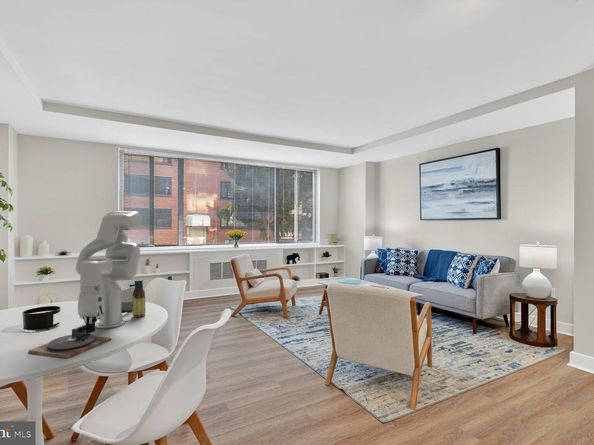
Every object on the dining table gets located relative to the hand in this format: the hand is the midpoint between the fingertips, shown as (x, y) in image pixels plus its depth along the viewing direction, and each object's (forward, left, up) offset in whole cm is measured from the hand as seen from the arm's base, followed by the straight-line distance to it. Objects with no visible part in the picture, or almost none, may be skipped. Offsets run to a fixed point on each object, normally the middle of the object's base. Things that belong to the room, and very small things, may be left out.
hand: (90, 332), depth 141 cm
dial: (+6, -2, -3) cm, 7 cm away
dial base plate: (+7, -2, -4) cm, 8 cm away
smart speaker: (-45, -22, -4) cm, 50 cm away
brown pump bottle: (-36, -7, -4) cm, 37 cm away
